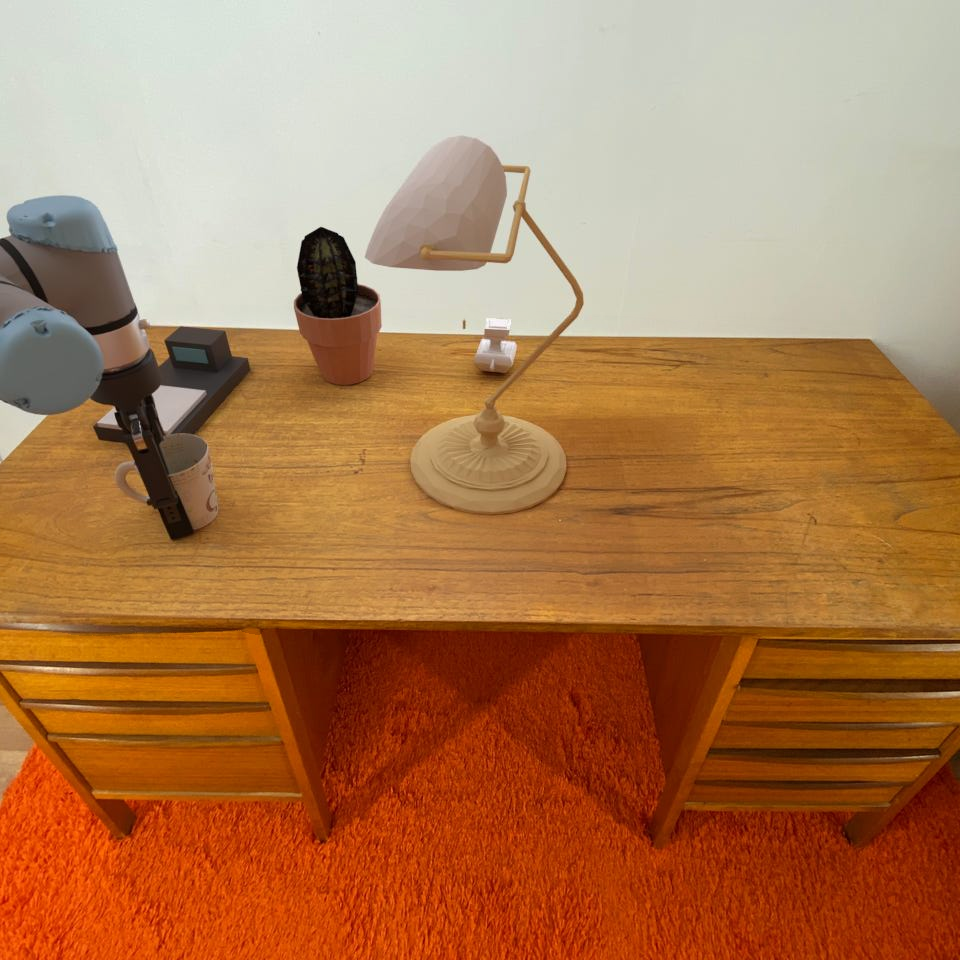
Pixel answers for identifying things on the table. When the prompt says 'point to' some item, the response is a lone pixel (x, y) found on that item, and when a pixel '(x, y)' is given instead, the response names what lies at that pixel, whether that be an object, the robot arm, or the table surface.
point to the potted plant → (336, 309)
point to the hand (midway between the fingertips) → (178, 515)
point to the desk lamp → (457, 247)
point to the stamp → (496, 347)
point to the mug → (183, 476)
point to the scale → (188, 382)
